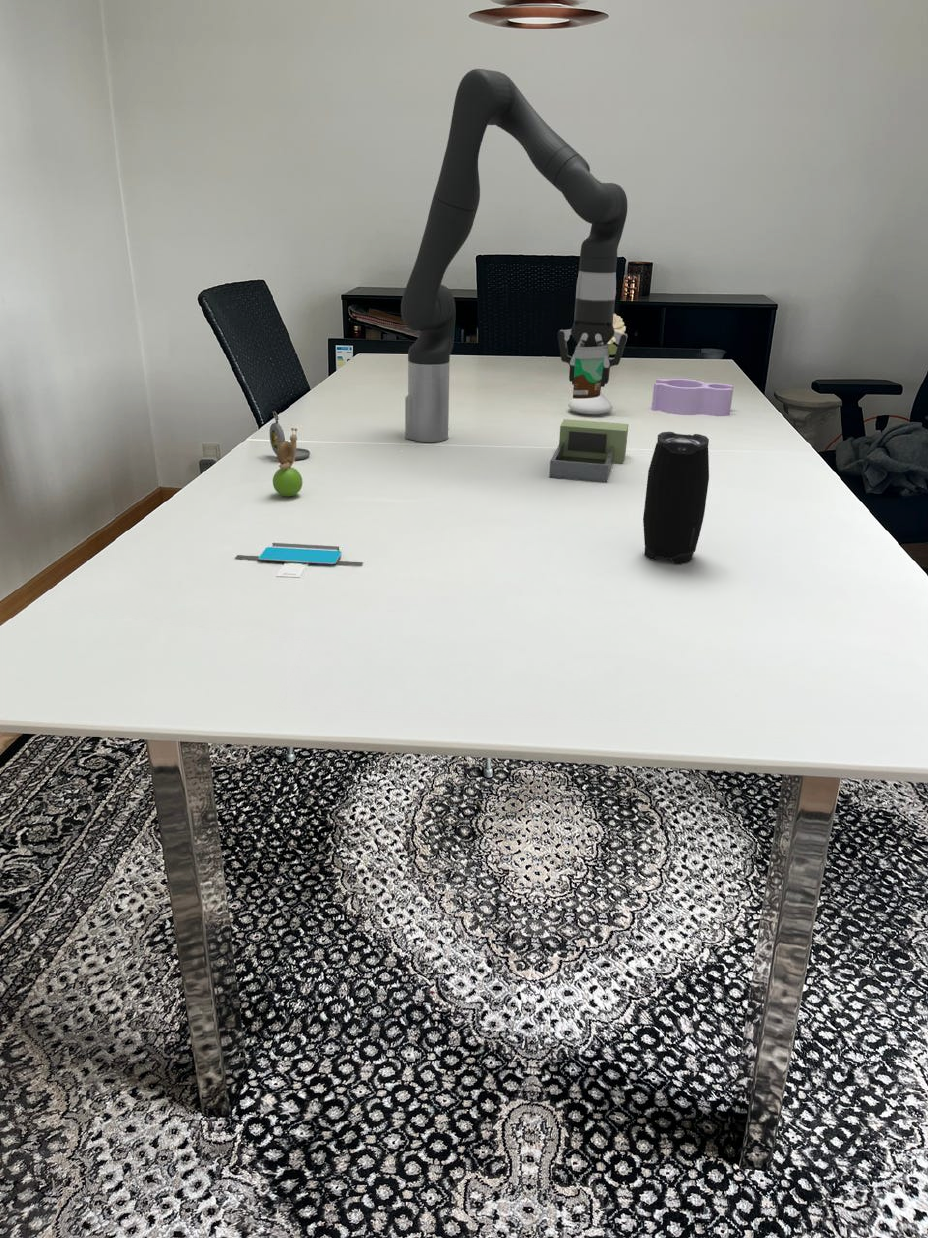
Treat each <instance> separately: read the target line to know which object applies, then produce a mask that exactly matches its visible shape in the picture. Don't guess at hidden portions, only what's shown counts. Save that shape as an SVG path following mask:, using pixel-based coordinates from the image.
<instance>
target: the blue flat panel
mask: <svg viewBox="0 0 928 1238" xmlns="http://www.w3.org/2000/svg"><path fill="white" fill-rule="evenodd" d="M341 556H342V551H341V549H340V546H335V545H334V546H333V545H321V544H320V545H317V544H301V543H300V544H299V543H287V542H286V543H285V542H283V543H281V542H272V544H271V546H268V547H265V548H264V550H263V551H262V552H261V554H260V555H245V554H243V555H241V554H237V555H236V556H235V557H234V559H235V560H248V561H257V562H277V563H284V564H283V565H282V566H281V568H280V570H279V571H278V573H277V574H276V576H275V577H277V578H292V579H301V577H302V576H303V574H304V573H305V570H307V567H308V566H309V565H327V566H346V567H347V566H352V567H353V566H354V567H355V566H358V567H362V566H363V563H364V562H362V561H348V560H341Z"/></svg>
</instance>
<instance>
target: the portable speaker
mask: <svg viewBox="0 0 928 1238" xmlns="http://www.w3.org/2000/svg"><path fill="white" fill-rule="evenodd" d="M656 441H657V442H656V444H655V447H654V449H653V450H654V451H653V455H652V457H651V461H650V465H649V468H648V472H647V481H646V489H645V498H644V510H643V518H642V520H643V521H642V524H643V539H644V556H645V557H646V558H648V559H649V560H656V559H657V558H661V559H666V560H671V561H672V563H673V564H674V565H679V564H680V565H683V564H687V563H689V562H691V561H692V560H693V556H694V555H695V554H694V553H695V552H696V549H697V545H698V543H699V538H700V535H701V534H700V533H701V530H702V526H703V523H704V517H705V512H706V505H707V495H708V488H709V483H710V482H709V481H710V466H709V465H710V463H709V461H710V459H709V458H710V457H709V455H710V454H709V443H710V440H709V437H707V436H706V435H703V434H699V433H693V434H682V433H681V434H680V433H675V432H674V431H664V432H663V431H662V432H660V433H658V435H657V440H656Z"/></svg>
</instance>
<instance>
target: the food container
mask: <svg viewBox="0 0 928 1238" xmlns="http://www.w3.org/2000/svg"><path fill="white" fill-rule="evenodd" d="M575 349H576V351H575V350H574V352H575V369H574V385H573V386H572V387H573V389H572V390H573V391H572V399H573V398H576V399H587V398H595V397H598V396H600V392H601V393H602V387H601V379H602V373H603V368H604V358H605V357H607V356H609V357H610V354H609V350H608V344H607V345H604V346H599V347H577V346H575Z"/></svg>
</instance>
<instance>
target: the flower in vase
mask: <svg viewBox="0 0 928 1238" xmlns="http://www.w3.org/2000/svg"><path fill="white" fill-rule="evenodd" d="M613 328H614V330H615V332H618V333H622V334H623V333H626V328H627V326H625V322H624V321H623V318H621V316H619V315H617V314H616V313H614V316H613ZM614 343H615V338H614V337H612V339H611V340H610V341H609V342H608V343H607V346H608V350H609V356H611V355H615V354H616V350H617V347H618V345H617V346H616V345H615V344H614ZM567 406H568V408H569V409H570V410H571V411H573V412H576V413H578V414H584V415H599V414H600V415H602V414H607V413H608V412H611V410H612V409H613V408H614V406H613V404H612V402H611V401H610V400H609V399H608V397H606V396H605V395H604V394H603V393H602V391H601V392H600V396H598V397H595V398H587V399H576V398H573V397H572V398H571V400H569V402H568V405H567Z"/></svg>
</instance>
